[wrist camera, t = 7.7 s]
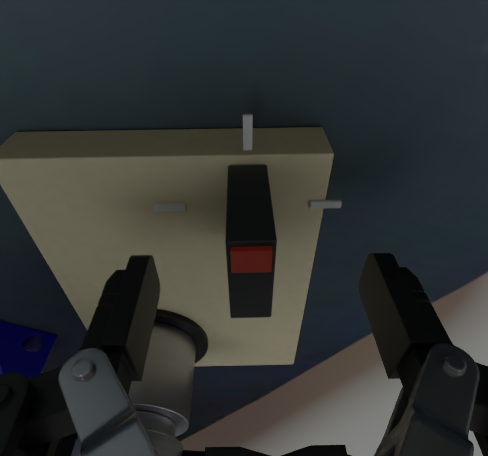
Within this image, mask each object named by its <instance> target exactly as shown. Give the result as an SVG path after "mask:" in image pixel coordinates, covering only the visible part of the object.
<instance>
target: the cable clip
mask: <svg viewBox="0 0 488 456" xmlns="http://www.w3.org/2000/svg"><path fill="white" fill-rule="evenodd" d="M56 336H57V335H53V334H49V333H45V332H41V331H37V330H33V329H30V328H26V327H22V326H18V325H14V324H10V323H6V322H2V321H0V375H1V374H4V373H8V372H17V373H20V374H22V375H24V376H25V377H26V378H30V377H33V376H36V375H39V374H40V373H41V370H42V368H43V366H44V364H45V361H46V359H47V357H48V354H49V352H50V350H51V348H52V345H53V343H54V341H55V339H56ZM26 350H31V351H34V352H27V351H26Z"/></svg>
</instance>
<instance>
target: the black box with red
mask: <svg viewBox="0 0 488 456" xmlns="http://www.w3.org/2000/svg"><path fill="white" fill-rule="evenodd" d="M225 244H226V259H227V273H228V288H229V303H230V316H231V318H260V317H271V313H272V300H273V286H274V273H275V260H276V247H277V238H276V230H275V222H274V215H273V207H272V200H271V192H270V184H269V177H268V169H267V165H231V166H228V179H227V208H226V237H225Z"/></svg>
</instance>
